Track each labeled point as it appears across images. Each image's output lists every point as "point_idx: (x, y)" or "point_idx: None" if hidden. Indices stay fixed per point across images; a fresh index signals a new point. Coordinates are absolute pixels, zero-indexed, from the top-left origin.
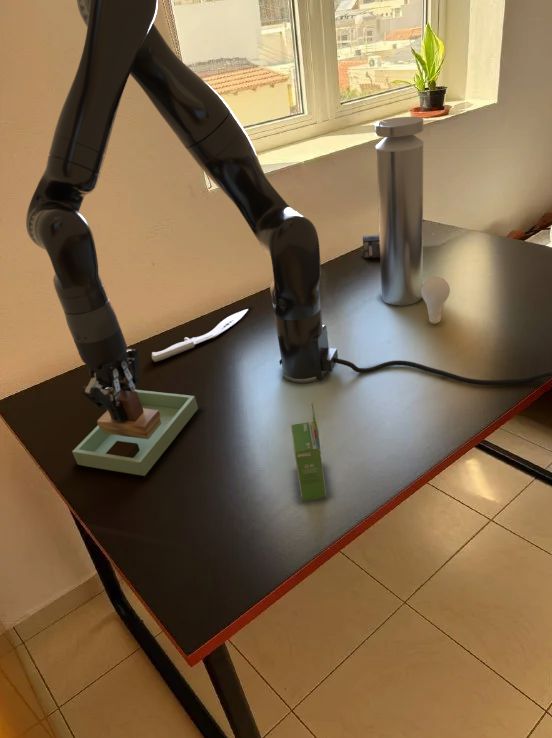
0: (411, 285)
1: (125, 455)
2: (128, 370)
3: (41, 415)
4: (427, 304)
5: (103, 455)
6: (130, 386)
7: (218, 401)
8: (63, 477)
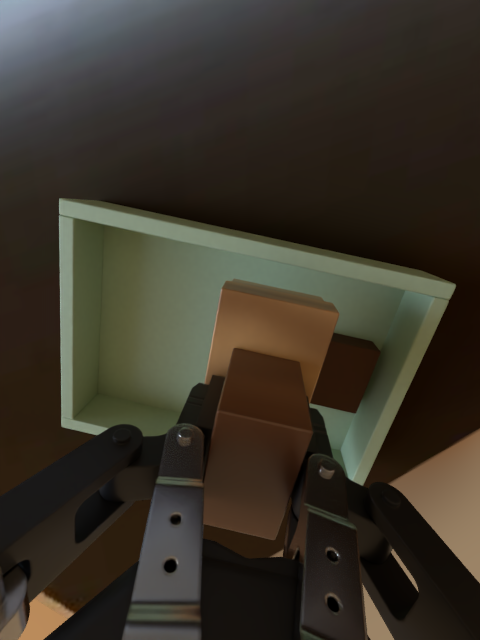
0: None
1: (362, 353)
2: (145, 560)
3: None
4: None
5: (392, 413)
6: (197, 456)
7: (37, 141)
8: (378, 474)
